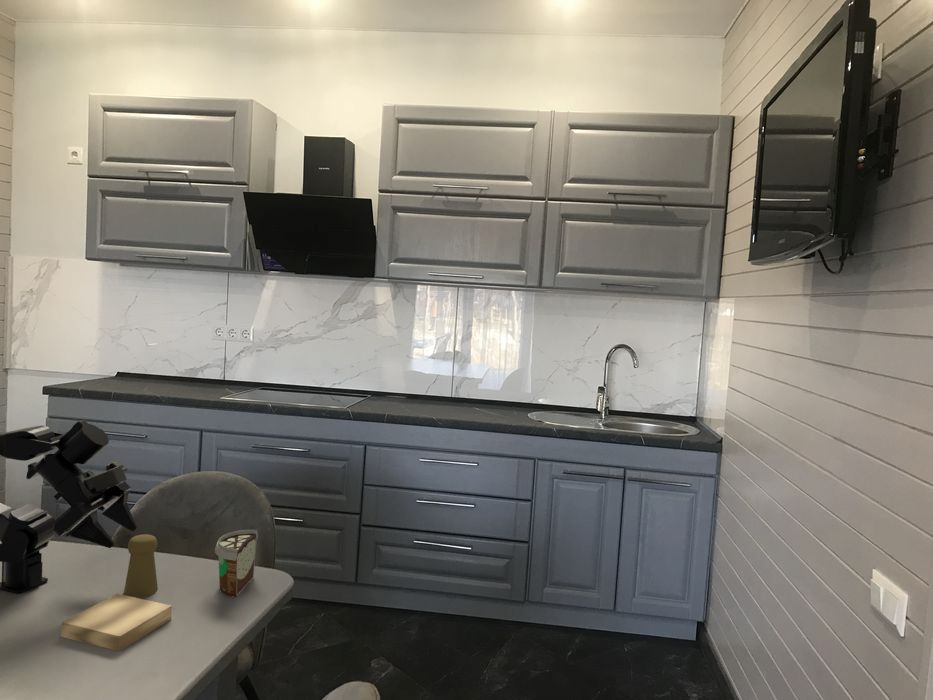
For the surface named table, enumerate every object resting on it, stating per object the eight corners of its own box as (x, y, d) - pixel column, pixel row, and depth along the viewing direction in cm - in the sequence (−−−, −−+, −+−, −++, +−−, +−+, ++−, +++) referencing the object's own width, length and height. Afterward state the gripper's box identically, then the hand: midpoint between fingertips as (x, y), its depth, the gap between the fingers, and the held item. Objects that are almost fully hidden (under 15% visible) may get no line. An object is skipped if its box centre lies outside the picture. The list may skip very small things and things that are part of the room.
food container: (227, 572, 140) (229, 526, 139) (256, 574, 139) (258, 529, 139) (202, 597, 127) (204, 547, 127) (233, 600, 127) (236, 550, 126)
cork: (143, 599, 125) (146, 543, 124) (116, 595, 126) (118, 539, 125) (164, 587, 131) (166, 533, 130) (138, 582, 132) (140, 529, 131)
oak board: (61, 636, 110) (61, 622, 110) (117, 606, 121) (117, 593, 121) (119, 651, 107) (119, 636, 107) (171, 619, 118) (171, 605, 118)
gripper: (71, 463, 117) (132, 526, 118) (122, 442, 136) (174, 496, 137) (25, 504, 117) (86, 566, 118) (82, 477, 136) (134, 531, 137)
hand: (124, 537), depth 128 cm, fingers open, 9 cm apart
